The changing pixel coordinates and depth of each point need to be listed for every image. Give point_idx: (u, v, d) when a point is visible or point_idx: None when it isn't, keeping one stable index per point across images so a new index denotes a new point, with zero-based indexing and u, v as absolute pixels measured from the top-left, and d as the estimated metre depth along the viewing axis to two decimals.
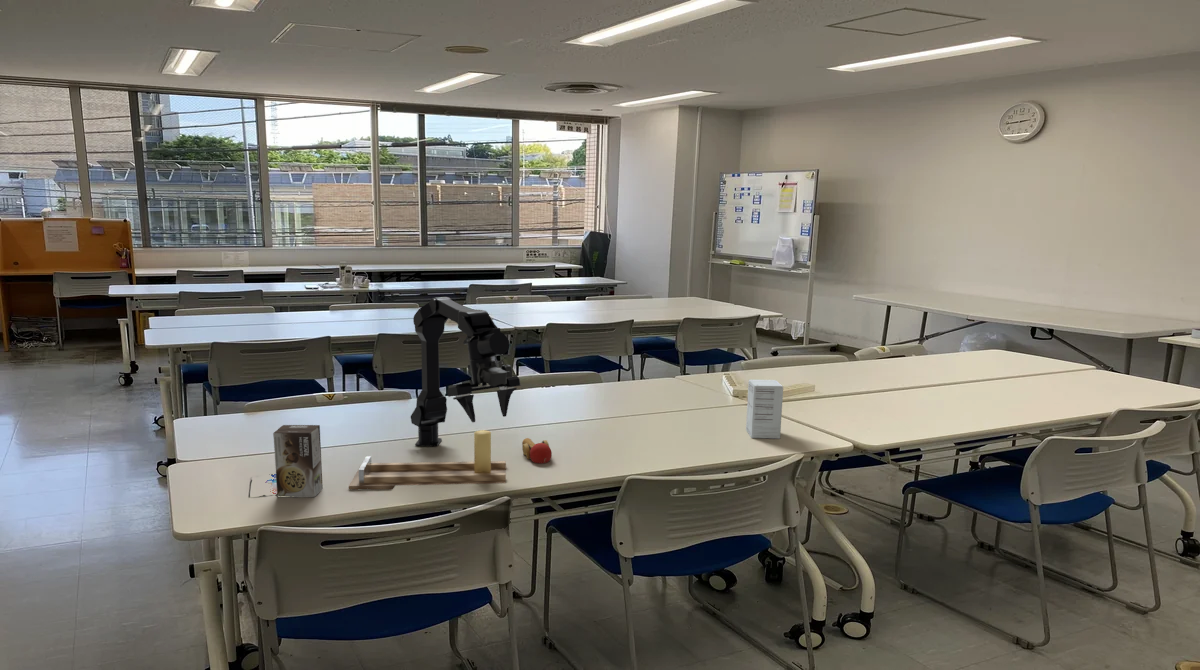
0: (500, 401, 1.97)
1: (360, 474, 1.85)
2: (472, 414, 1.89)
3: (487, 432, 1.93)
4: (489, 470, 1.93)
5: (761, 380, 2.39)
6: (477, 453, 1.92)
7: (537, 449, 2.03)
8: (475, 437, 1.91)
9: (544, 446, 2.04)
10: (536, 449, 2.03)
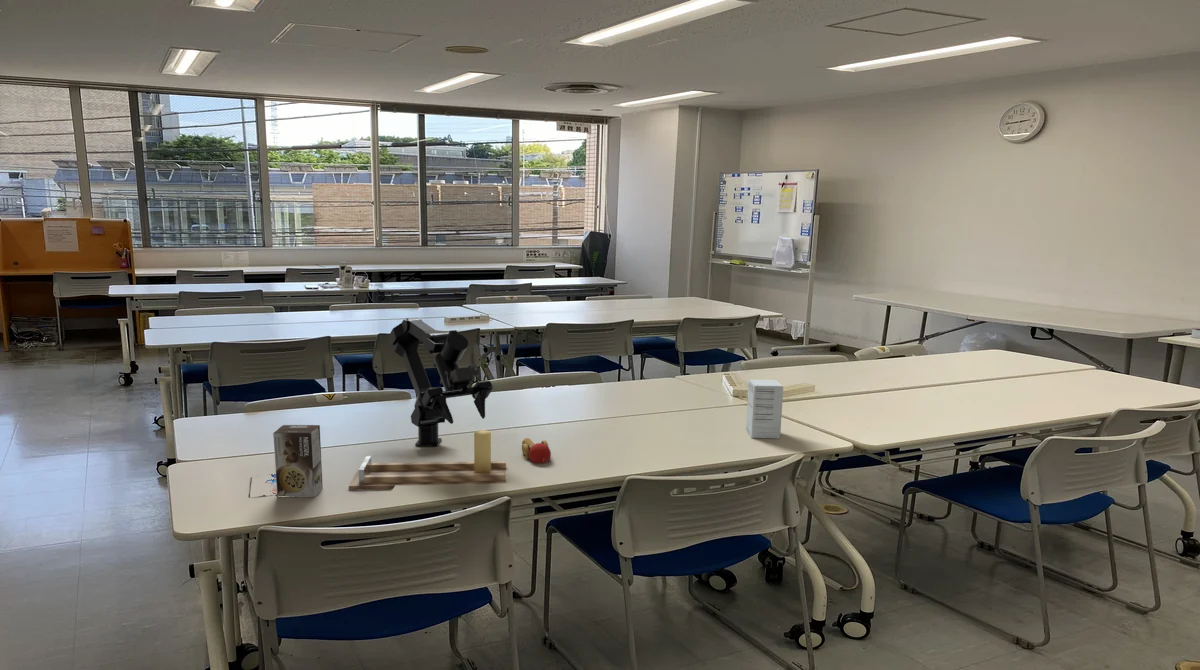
0: (478, 407, 2.04)
1: (360, 474, 1.85)
2: (449, 414, 1.96)
3: (487, 432, 1.93)
4: (489, 470, 1.93)
5: (761, 380, 2.39)
6: (477, 453, 1.92)
7: (536, 450, 2.03)
8: (475, 437, 1.91)
9: (543, 446, 2.04)
10: (535, 449, 2.03)
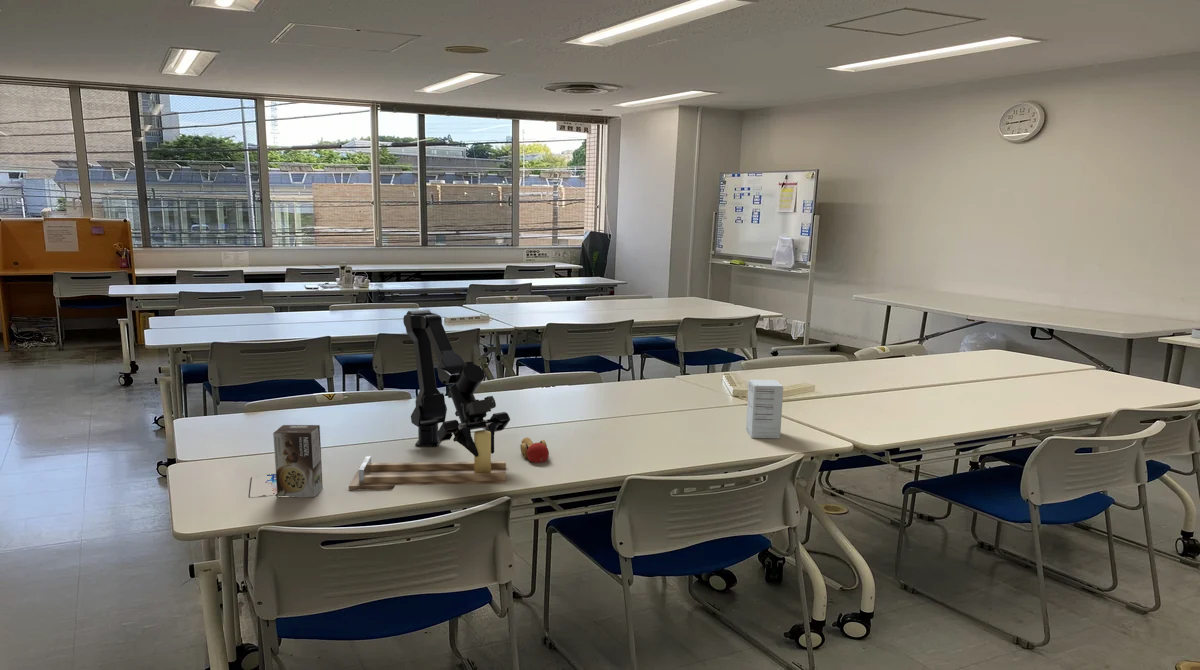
0: None
1: (360, 474, 1.85)
2: (473, 447, 1.91)
3: (487, 432, 1.93)
4: (489, 470, 1.93)
5: (761, 380, 2.39)
6: None
7: (534, 449, 2.03)
8: (475, 437, 1.91)
9: (541, 446, 2.04)
10: (533, 448, 2.04)
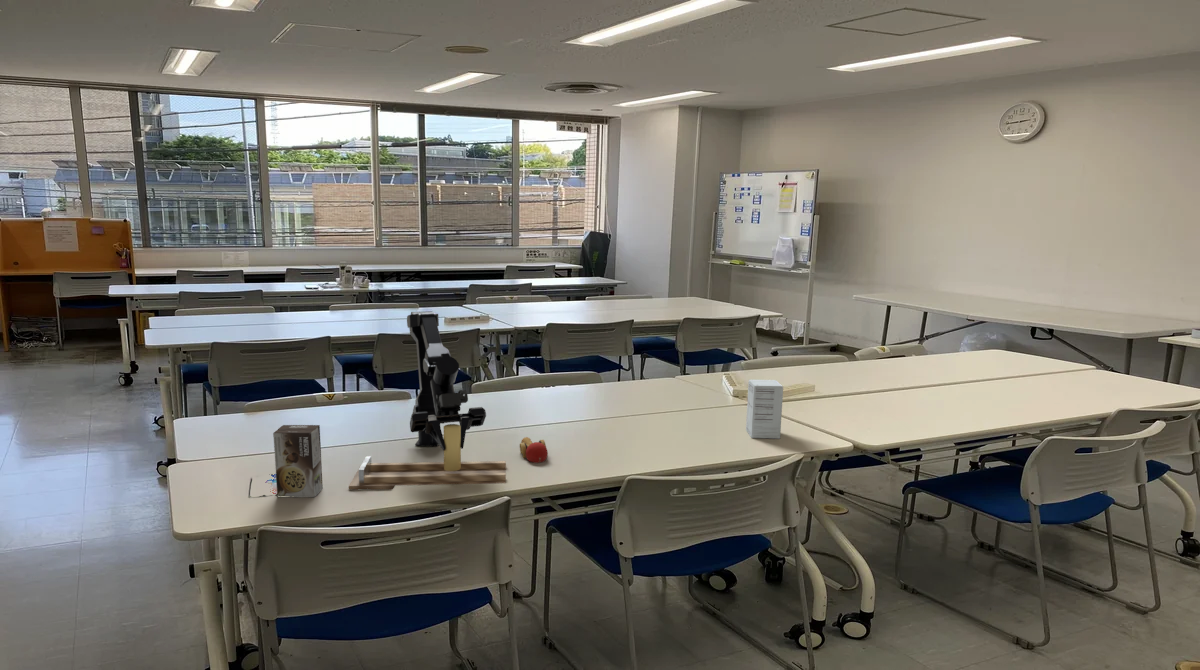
0: None
1: (360, 474, 1.85)
2: (441, 441, 1.88)
3: (457, 426, 1.89)
4: (457, 465, 1.90)
5: (761, 380, 2.39)
6: (445, 447, 1.88)
7: (532, 449, 2.04)
8: (444, 430, 1.88)
9: (540, 445, 2.04)
10: (532, 448, 2.04)
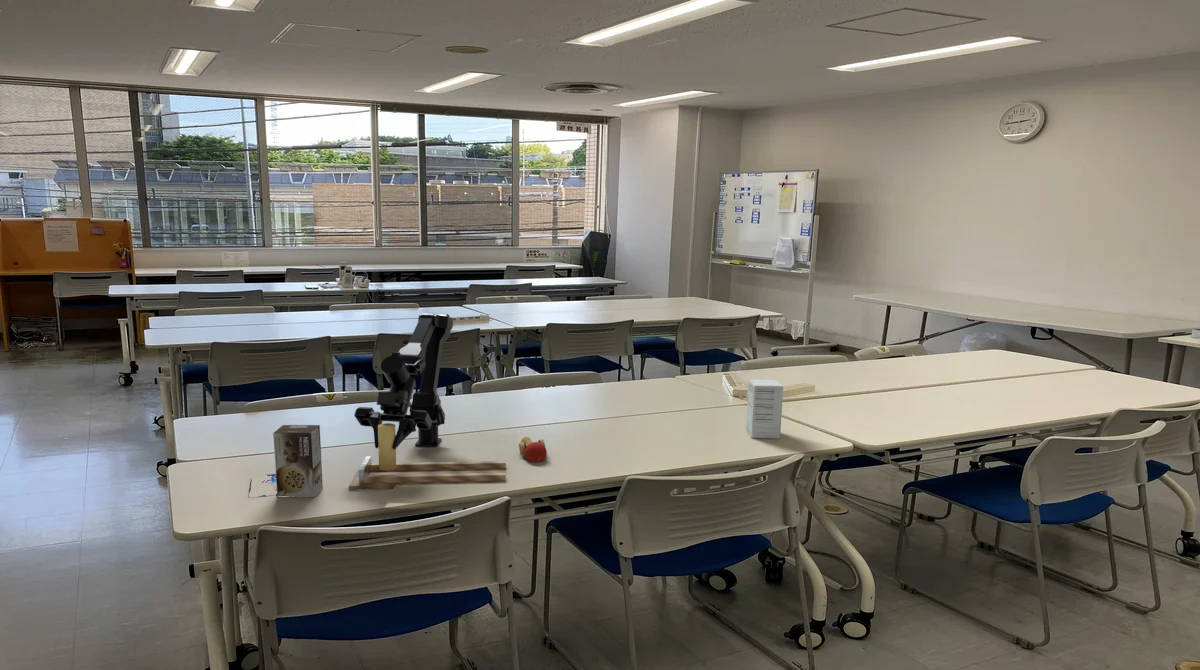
0: None
1: (360, 474, 1.85)
2: (375, 438, 1.89)
3: (390, 426, 1.88)
4: (388, 465, 1.88)
5: (761, 380, 2.39)
6: (378, 445, 1.89)
7: (531, 448, 2.04)
8: None
9: (539, 445, 2.05)
10: (531, 448, 2.04)
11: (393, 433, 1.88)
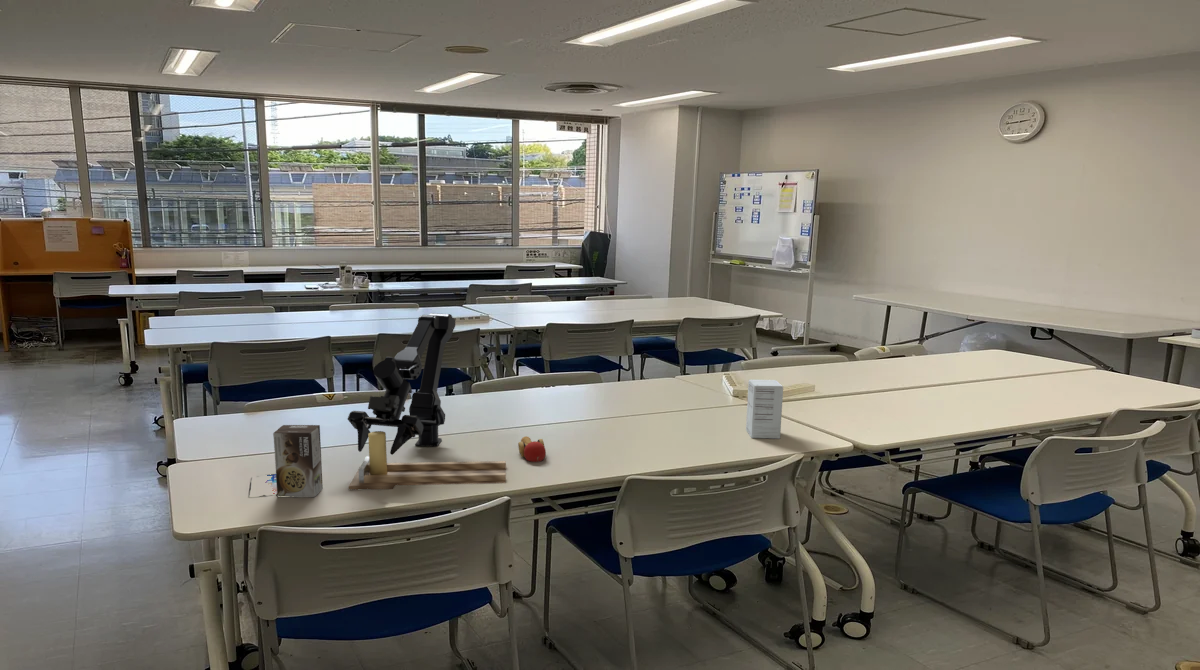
0: None
1: (360, 474, 1.85)
2: (358, 442, 1.90)
3: (380, 434, 1.89)
4: (378, 473, 1.89)
5: (761, 380, 2.39)
6: (369, 453, 1.90)
7: (530, 448, 2.04)
8: None
9: (538, 445, 2.05)
10: (530, 447, 2.04)
11: (383, 441, 1.89)
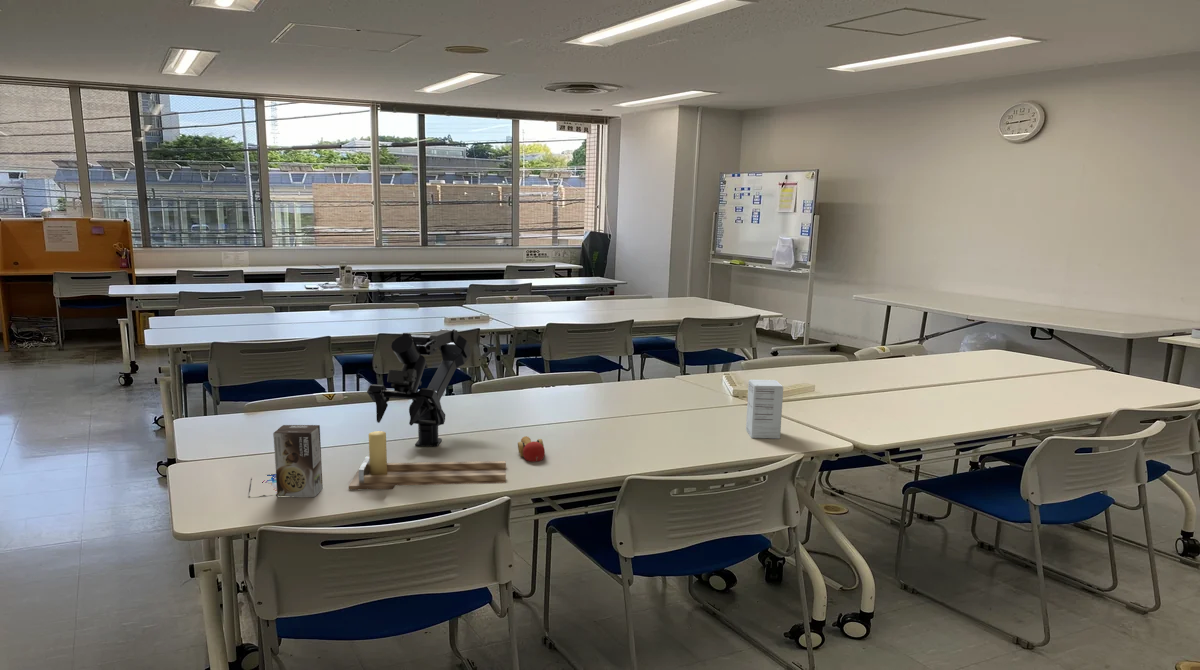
0: None
1: (360, 474, 1.85)
2: (377, 413, 2.00)
3: (380, 434, 1.89)
4: (379, 473, 1.89)
5: (761, 380, 2.39)
6: (369, 453, 1.90)
7: (529, 448, 2.04)
8: None
9: (537, 445, 2.05)
10: (529, 447, 2.04)
11: (383, 441, 1.89)
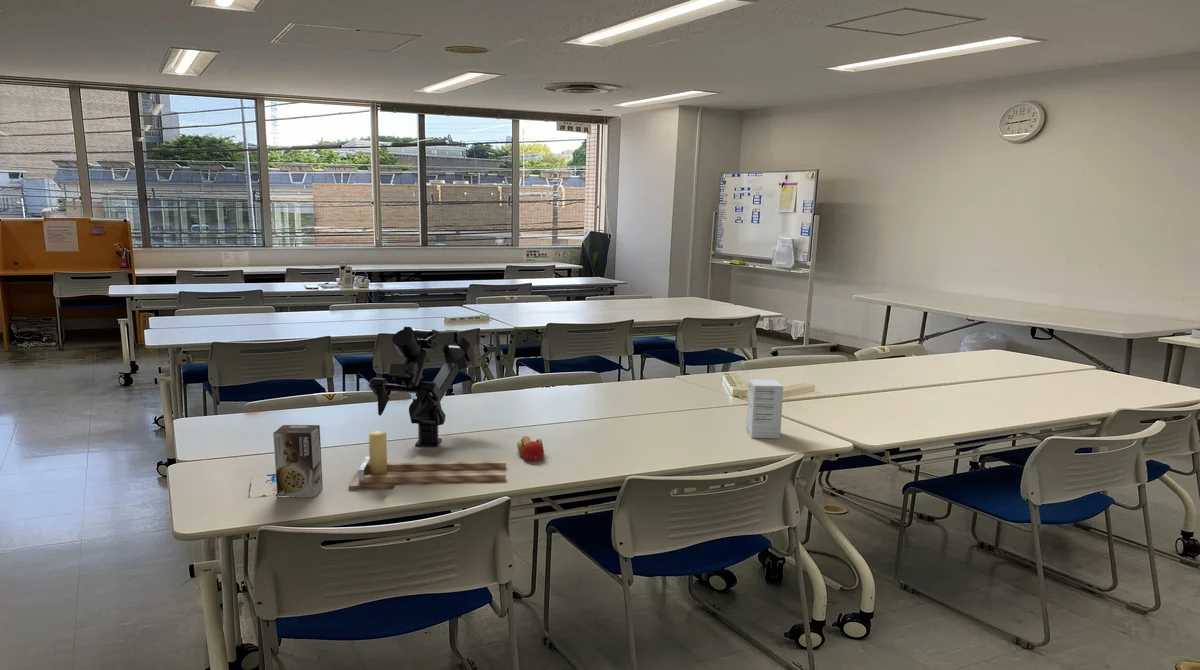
0: None
1: (360, 474, 1.85)
2: (378, 406, 2.01)
3: (380, 434, 1.89)
4: (379, 473, 1.89)
5: (761, 380, 2.39)
6: (369, 452, 1.90)
7: (528, 447, 2.04)
8: None
9: (536, 444, 2.05)
10: (528, 447, 2.05)
11: (384, 441, 1.89)
